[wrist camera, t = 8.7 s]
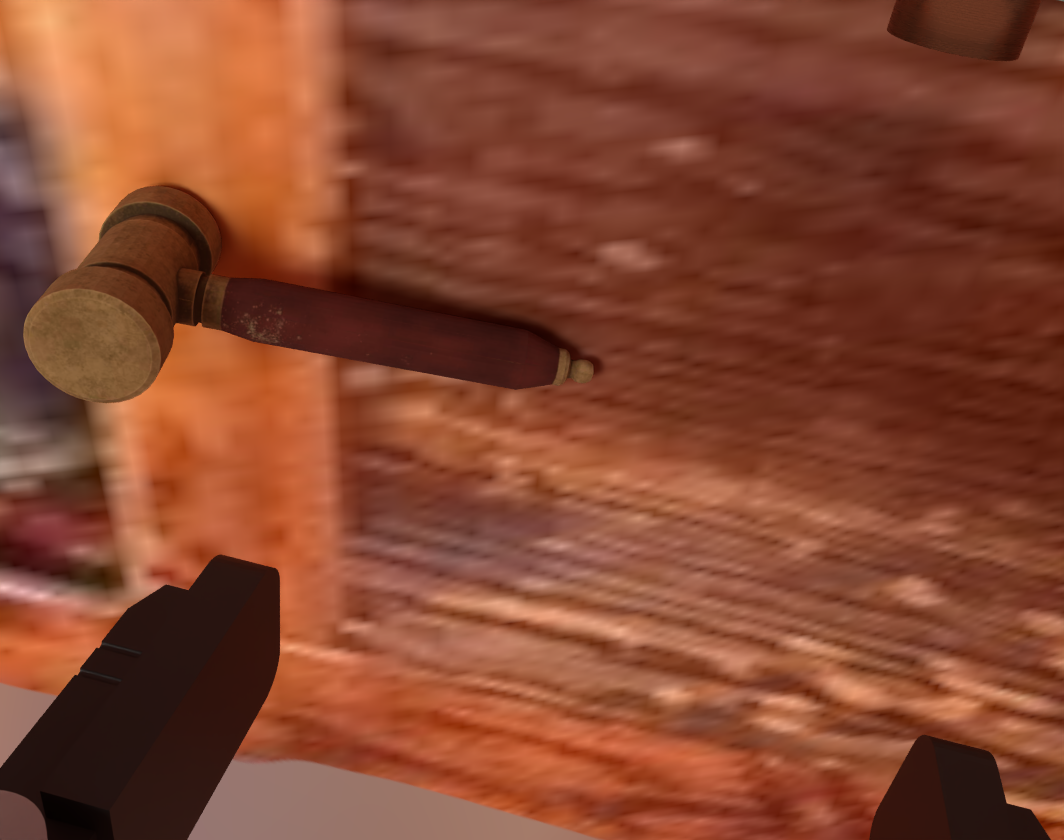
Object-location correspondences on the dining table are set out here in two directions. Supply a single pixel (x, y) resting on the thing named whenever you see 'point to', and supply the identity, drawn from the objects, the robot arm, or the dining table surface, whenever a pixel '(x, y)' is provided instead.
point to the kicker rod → (966, 26)
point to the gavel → (243, 314)
